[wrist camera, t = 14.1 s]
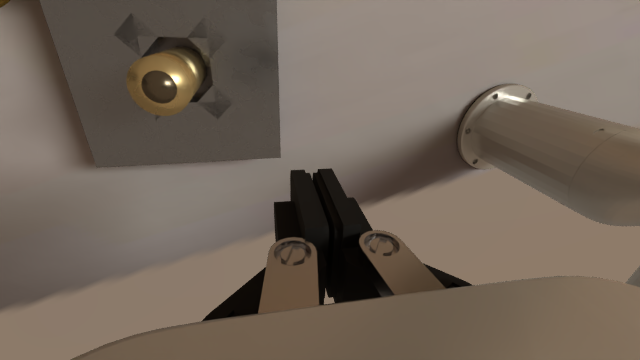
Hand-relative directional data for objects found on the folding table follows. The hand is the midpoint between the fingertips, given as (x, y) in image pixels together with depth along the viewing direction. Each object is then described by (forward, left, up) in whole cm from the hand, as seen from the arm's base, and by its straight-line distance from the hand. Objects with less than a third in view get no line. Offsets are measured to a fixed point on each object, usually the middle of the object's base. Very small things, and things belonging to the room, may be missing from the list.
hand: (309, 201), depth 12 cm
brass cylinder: (+8, -2, -23) cm, 24 cm away
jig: (+8, -2, -25) cm, 26 cm away
